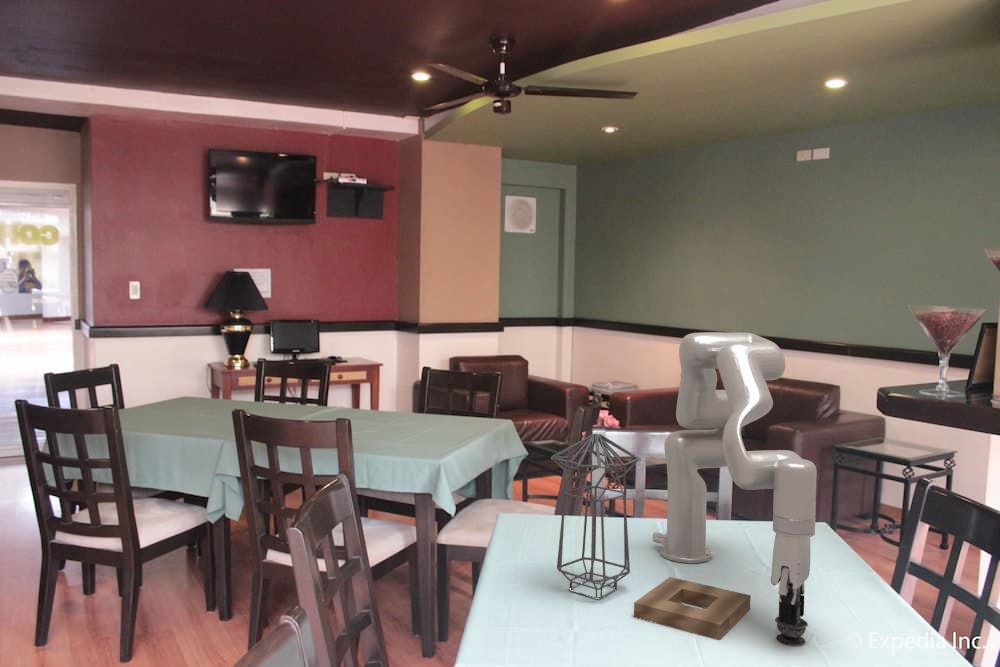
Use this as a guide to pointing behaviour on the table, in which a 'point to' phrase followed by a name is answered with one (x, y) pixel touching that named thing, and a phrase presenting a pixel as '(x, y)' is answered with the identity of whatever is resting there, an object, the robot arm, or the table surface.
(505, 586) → the table surface
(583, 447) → the geometric lantern
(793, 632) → the salt shaker
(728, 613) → the stand
